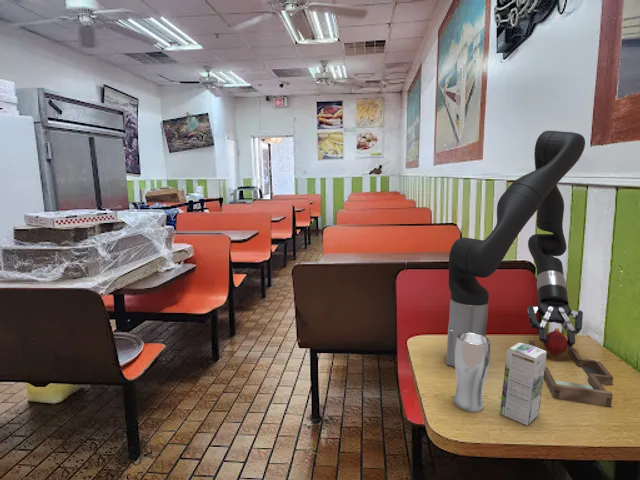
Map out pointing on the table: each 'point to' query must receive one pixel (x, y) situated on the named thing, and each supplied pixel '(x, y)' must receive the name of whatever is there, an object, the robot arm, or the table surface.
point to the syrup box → (523, 383)
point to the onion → (556, 343)
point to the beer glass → (471, 370)
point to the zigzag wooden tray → (579, 391)
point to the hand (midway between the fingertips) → (557, 343)
